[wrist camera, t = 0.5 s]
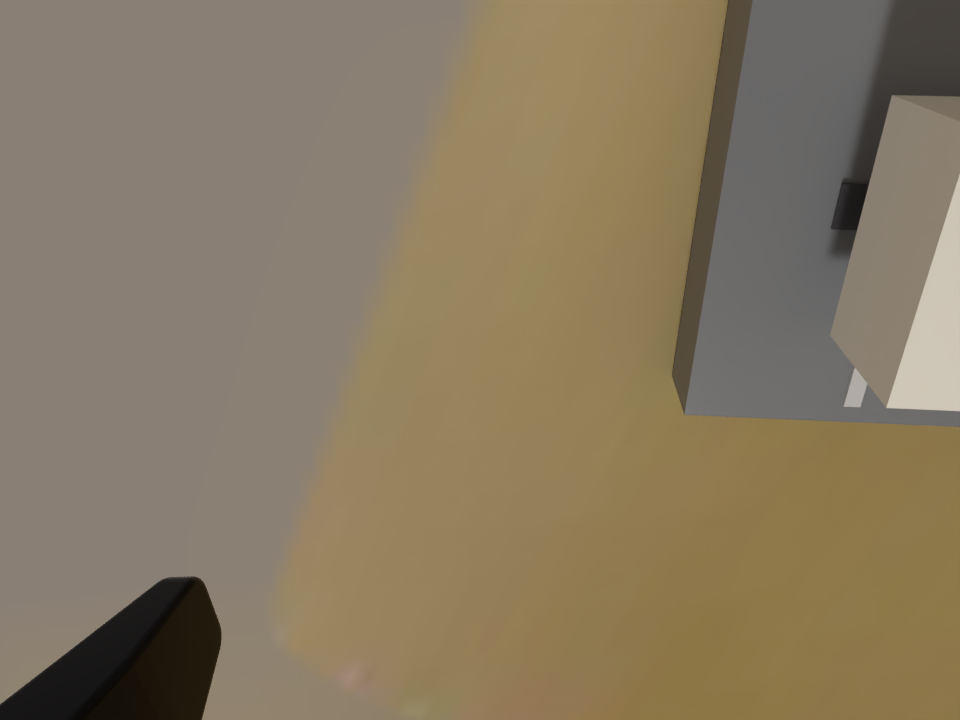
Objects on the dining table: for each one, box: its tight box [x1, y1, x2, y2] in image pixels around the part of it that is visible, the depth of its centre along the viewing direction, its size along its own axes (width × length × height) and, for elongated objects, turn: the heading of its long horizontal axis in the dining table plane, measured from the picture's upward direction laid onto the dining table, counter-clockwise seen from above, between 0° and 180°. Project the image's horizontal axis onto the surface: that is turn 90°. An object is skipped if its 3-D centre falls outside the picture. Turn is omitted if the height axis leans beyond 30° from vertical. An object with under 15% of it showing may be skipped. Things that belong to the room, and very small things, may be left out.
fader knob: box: [830, 95, 960, 411], centre depth 14 cm, size 3×5×4 cm, turn 179°
